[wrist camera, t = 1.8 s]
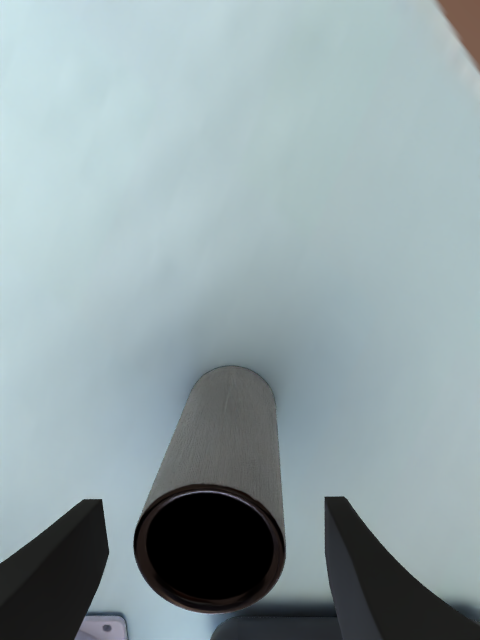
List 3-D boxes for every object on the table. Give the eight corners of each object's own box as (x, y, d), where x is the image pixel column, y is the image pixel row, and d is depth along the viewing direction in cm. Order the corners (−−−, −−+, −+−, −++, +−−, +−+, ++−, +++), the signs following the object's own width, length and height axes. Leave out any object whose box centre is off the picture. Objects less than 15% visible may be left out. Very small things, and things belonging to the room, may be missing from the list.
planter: (171, 391, 23) (101, 527, 13) (246, 348, 22) (234, 457, 12) (217, 460, 24) (185, 638, 14) (291, 421, 23) (314, 579, 13)
